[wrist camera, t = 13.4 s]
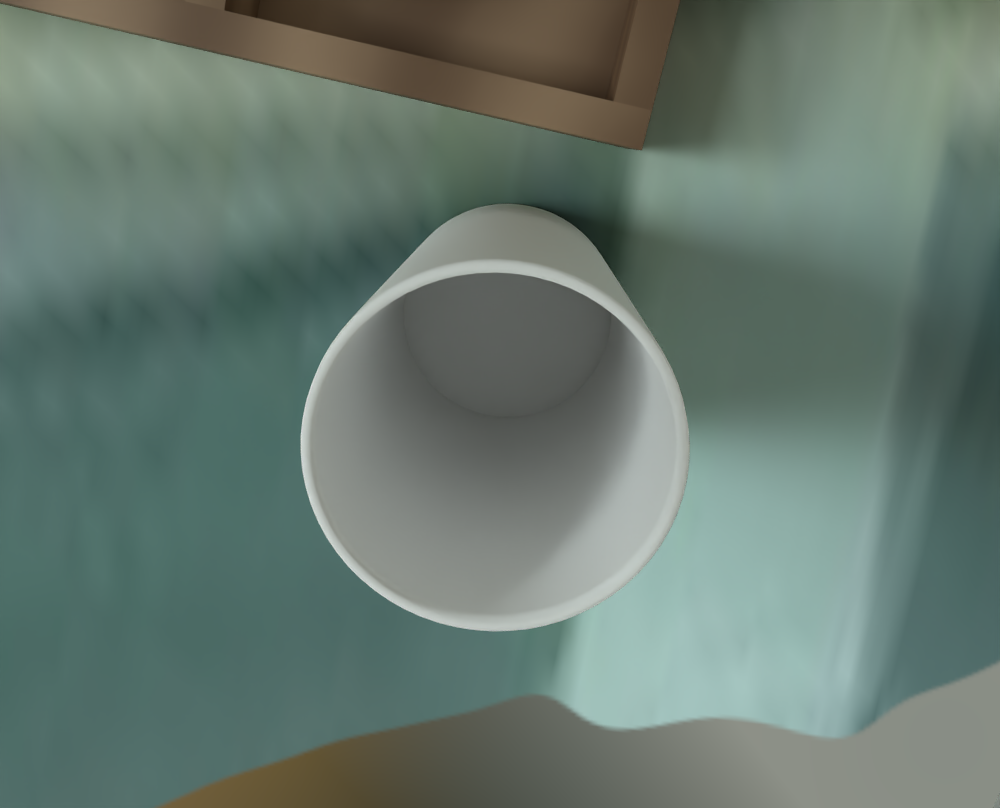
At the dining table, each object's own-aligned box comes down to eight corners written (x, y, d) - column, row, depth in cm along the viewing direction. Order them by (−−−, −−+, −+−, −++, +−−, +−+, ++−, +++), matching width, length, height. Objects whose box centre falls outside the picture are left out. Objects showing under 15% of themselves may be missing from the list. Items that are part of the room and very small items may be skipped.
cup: (600, 432, 36) (658, 653, 21) (389, 408, 36) (288, 611, 21) (632, 217, 34) (724, 285, 18) (407, 191, 34) (308, 237, 18)
